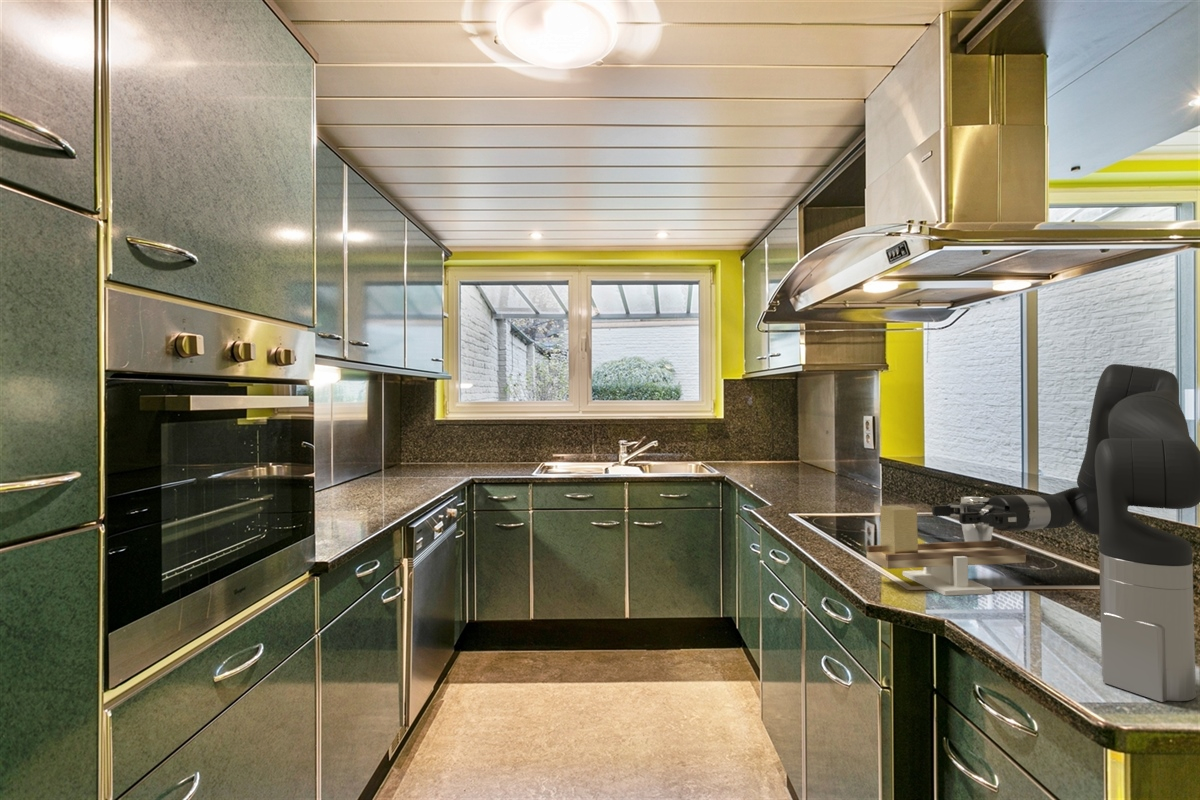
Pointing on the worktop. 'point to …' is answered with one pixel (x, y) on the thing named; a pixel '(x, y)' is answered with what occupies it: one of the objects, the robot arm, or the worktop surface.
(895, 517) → the block
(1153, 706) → the worktop surface
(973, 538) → the beer glass
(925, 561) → the balance beam
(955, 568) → the beam stand
